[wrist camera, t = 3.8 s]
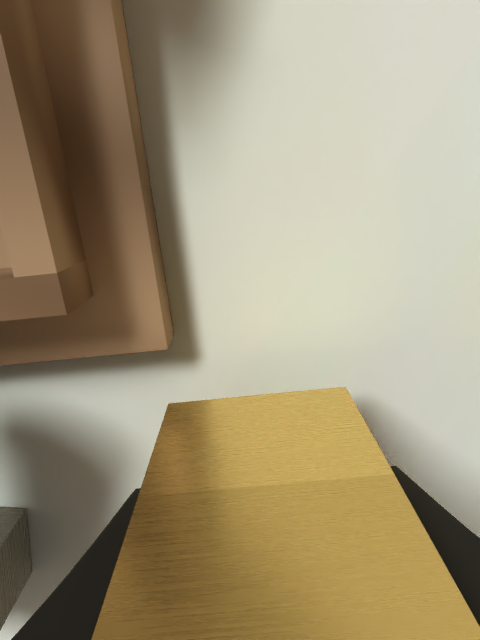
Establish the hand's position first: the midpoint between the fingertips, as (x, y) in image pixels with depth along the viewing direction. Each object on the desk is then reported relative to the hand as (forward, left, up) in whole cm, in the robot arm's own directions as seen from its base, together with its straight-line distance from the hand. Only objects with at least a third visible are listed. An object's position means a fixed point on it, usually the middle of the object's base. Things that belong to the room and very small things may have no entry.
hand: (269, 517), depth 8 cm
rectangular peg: (0, 0, -2) cm, 2 cm away
